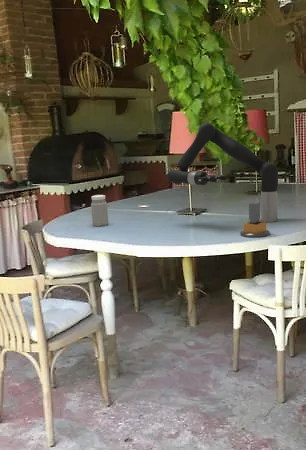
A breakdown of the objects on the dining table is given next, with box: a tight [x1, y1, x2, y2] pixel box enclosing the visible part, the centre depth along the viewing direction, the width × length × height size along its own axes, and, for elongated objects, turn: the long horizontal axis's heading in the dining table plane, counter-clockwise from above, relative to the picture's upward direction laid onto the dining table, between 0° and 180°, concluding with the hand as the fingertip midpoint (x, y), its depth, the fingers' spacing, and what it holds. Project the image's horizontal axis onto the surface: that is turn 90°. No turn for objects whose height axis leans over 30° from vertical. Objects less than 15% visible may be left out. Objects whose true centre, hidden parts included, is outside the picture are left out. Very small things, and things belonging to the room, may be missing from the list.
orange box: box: [240, 220, 271, 239], centre depth 274 cm, size 15×15×6 cm
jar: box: [90, 194, 109, 227], centre depth 323 cm, size 10×10×18 cm
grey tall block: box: [248, 202, 261, 224], centre depth 273 cm, size 4×4×15 cm
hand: (221, 179), depth 283 cm, fingers open, 8 cm apart
